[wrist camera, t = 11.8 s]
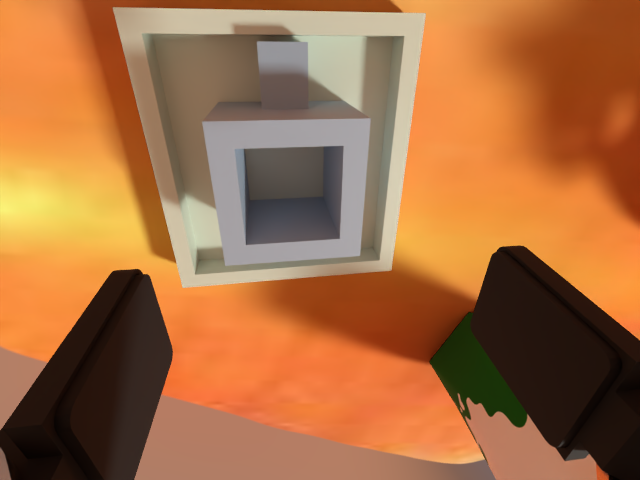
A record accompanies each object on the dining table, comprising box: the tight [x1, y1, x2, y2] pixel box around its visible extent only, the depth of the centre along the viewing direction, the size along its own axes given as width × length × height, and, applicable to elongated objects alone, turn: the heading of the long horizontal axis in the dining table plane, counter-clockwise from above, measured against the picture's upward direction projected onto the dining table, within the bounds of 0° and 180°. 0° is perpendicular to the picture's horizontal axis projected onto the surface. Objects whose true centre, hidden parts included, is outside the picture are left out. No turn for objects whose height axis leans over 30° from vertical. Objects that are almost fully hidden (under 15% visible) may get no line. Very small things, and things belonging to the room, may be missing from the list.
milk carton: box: [429, 312, 597, 480], centre depth 26 cm, size 9×9×20 cm
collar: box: [202, 41, 371, 266], centre depth 18 cm, size 10×7×6 cm
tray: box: [113, 7, 426, 288], centre depth 21 cm, size 15×16×2 cm
